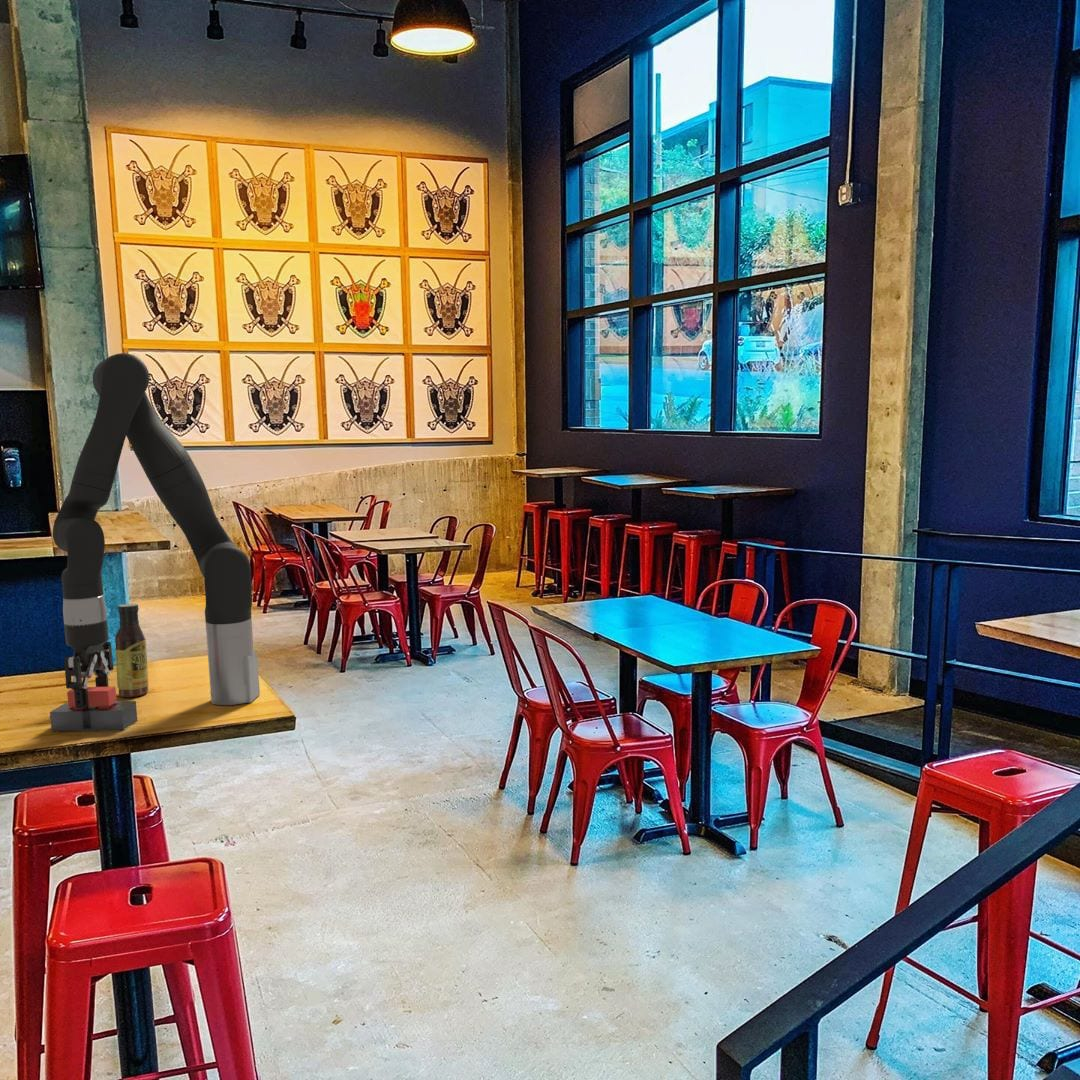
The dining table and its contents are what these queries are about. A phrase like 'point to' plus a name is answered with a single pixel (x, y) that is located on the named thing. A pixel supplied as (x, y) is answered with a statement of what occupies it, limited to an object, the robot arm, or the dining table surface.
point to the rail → (94, 717)
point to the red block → (96, 697)
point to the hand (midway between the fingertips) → (92, 701)
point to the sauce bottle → (131, 654)
